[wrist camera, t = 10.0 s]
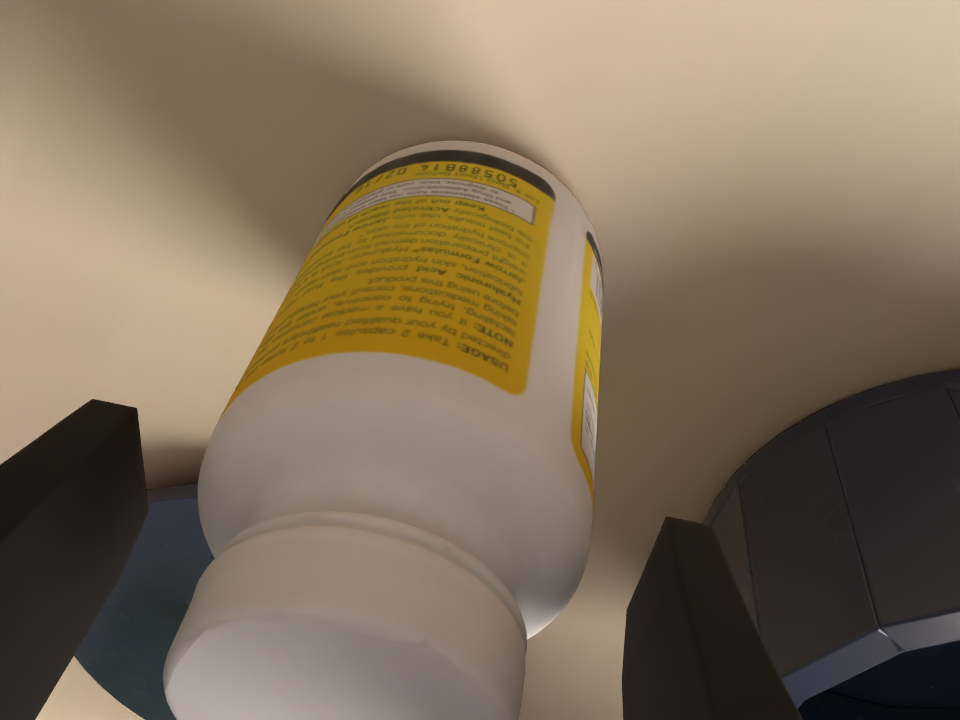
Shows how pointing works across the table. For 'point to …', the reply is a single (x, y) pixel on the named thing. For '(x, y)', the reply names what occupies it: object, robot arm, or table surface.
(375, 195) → the supplement bottle
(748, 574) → the pot
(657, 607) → the robot arm
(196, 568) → the pot lid
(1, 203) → the table surface
